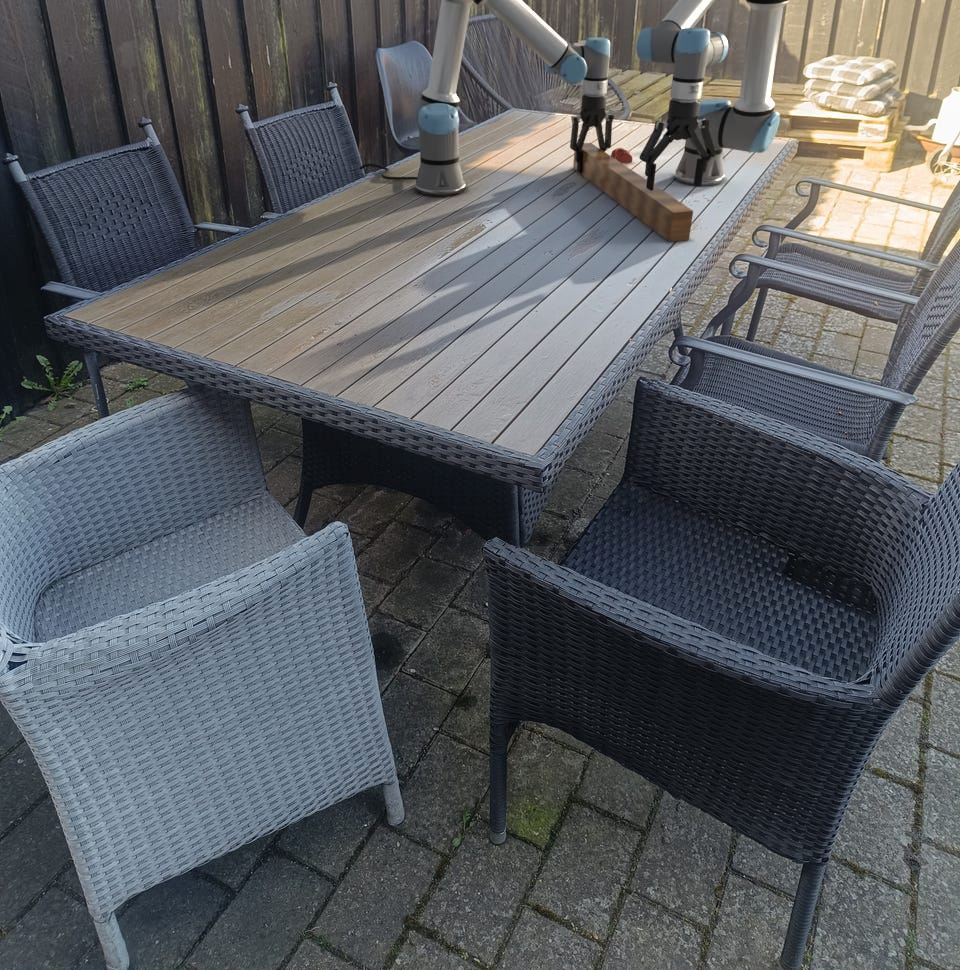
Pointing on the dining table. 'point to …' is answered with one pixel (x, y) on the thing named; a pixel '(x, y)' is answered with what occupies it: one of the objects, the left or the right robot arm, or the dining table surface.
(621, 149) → the red rounded lump
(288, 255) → the dining table surface
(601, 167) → the beam
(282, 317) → the dining table surface
